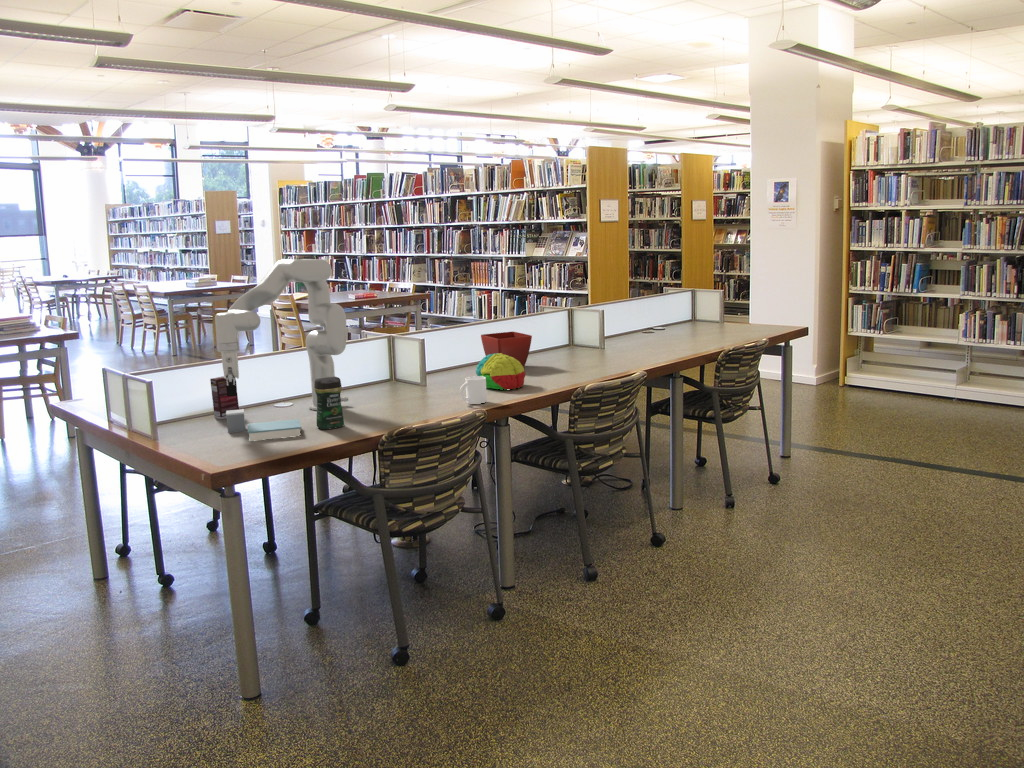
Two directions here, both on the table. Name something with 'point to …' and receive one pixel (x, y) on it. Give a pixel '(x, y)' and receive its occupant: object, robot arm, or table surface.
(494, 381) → the brain model
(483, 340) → the plant pot
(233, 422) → the card box
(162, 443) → the table surface
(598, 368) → the table surface
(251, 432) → the book
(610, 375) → the table surface
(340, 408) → the coffee jar
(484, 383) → the mug
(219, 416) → the supplement box
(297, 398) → the table surface
